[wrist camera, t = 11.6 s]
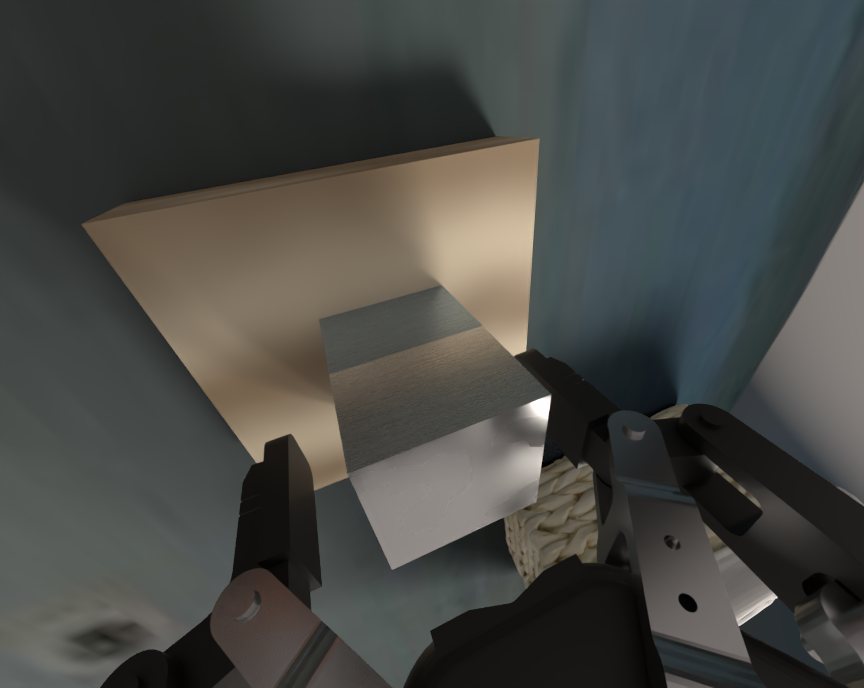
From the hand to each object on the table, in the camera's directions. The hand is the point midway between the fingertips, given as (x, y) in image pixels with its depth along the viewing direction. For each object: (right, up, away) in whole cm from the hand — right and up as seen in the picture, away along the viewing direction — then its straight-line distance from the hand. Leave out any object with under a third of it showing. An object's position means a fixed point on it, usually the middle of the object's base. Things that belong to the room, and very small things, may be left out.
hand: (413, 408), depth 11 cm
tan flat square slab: (-2, +3, +5) cm, 7 cm away
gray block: (-1, +2, +3) cm, 4 cm away
